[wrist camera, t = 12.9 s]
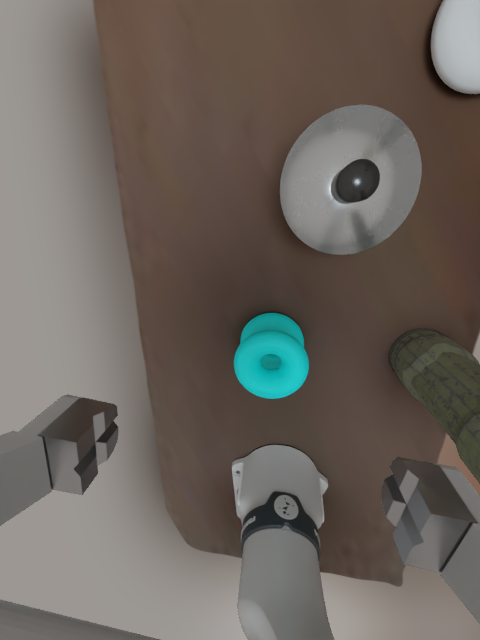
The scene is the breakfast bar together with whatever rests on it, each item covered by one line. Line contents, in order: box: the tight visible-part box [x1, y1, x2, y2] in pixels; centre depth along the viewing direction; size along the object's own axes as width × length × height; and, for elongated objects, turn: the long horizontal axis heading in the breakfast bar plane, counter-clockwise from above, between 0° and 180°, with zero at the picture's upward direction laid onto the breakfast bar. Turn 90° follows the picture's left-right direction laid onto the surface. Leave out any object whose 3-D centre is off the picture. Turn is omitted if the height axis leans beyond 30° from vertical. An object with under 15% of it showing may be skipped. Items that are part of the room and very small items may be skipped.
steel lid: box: [280, 105, 422, 255], centre depth 25 cm, size 13×13×5 cm
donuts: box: [234, 313, 309, 399], centre depth 40 cm, size 10×10×10 cm
